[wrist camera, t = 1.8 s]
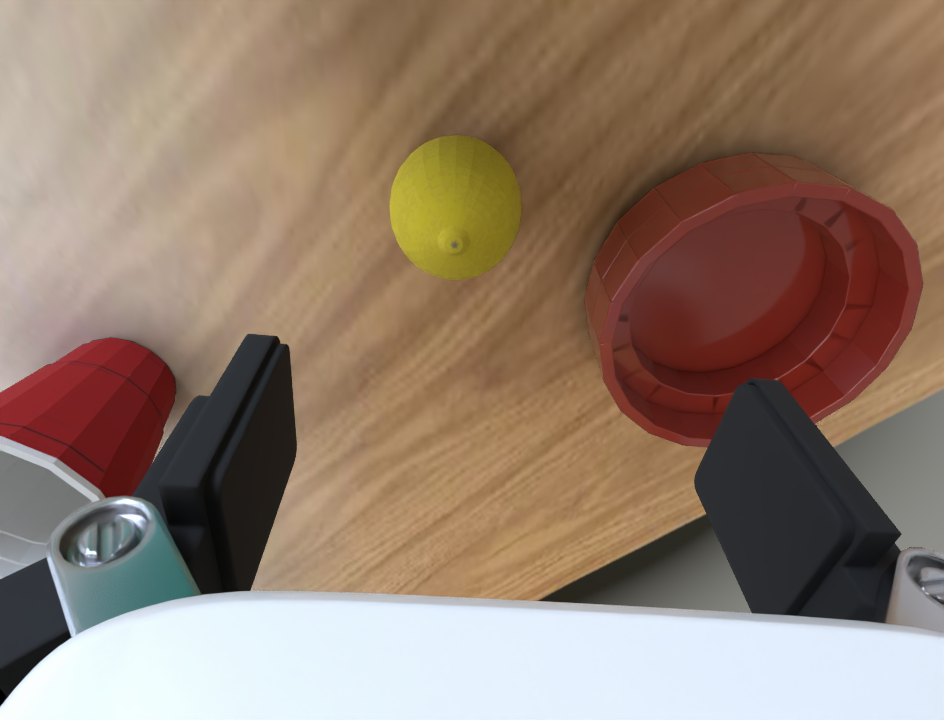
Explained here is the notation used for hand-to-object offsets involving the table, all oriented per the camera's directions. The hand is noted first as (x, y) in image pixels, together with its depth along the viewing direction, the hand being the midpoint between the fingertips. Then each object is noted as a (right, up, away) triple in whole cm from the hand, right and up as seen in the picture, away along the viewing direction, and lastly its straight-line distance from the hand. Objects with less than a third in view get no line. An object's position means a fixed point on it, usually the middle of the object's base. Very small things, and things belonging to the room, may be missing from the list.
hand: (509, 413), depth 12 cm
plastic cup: (-21, 0, +22) cm, 31 cm away
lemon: (-1, +10, +15) cm, 18 cm away
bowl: (+12, +5, +18) cm, 23 cm away
